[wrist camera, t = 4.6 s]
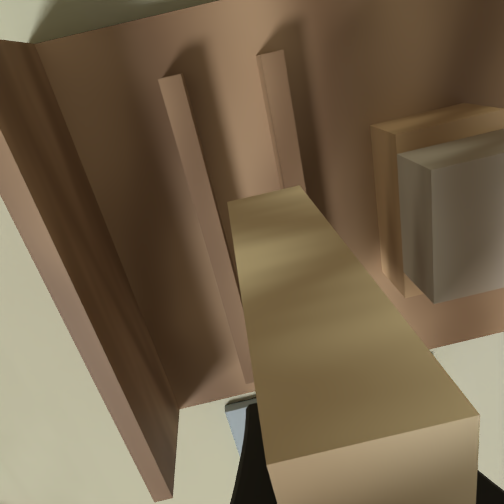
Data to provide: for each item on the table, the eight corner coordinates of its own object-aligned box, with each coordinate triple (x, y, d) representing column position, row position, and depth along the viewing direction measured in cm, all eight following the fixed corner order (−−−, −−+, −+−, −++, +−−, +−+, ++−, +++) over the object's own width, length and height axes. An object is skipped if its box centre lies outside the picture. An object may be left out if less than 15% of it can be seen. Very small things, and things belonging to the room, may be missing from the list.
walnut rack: (541, -73, 15) (725, -148, 10) (511, 316, 23) (605, 393, 18) (23, 50, 15) (-77, 41, 10) (166, 398, 23) (154, 502, 18)
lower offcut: (464, 102, 17) (504, 108, 15) (462, 252, 20) (495, 276, 18) (369, 125, 17) (395, 134, 14) (382, 271, 20) (405, 298, 17)
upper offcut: (503, 128, 15) (557, 140, 13) (497, 250, 17) (541, 278, 15) (396, 153, 15) (431, 169, 13) (403, 272, 17) (433, 304, 15)
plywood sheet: (299, 185, 11) (479, 415, 4) (340, 440, 15) (463, 782, 8) (227, 202, 11) (266, 465, 4) (288, 453, 15) (363, 805, 8)
